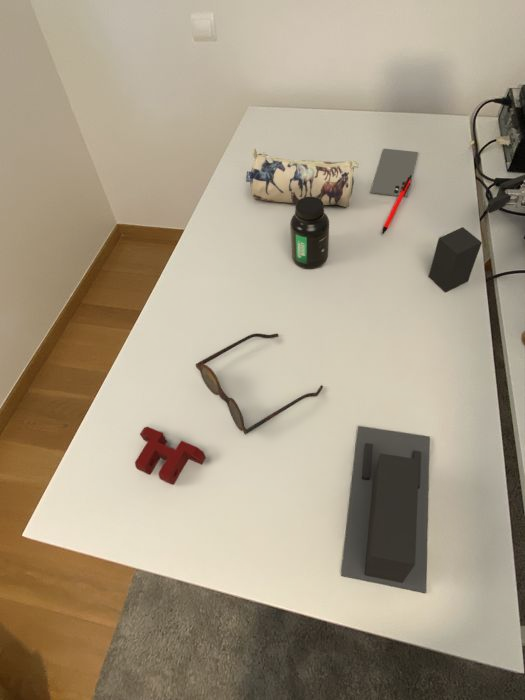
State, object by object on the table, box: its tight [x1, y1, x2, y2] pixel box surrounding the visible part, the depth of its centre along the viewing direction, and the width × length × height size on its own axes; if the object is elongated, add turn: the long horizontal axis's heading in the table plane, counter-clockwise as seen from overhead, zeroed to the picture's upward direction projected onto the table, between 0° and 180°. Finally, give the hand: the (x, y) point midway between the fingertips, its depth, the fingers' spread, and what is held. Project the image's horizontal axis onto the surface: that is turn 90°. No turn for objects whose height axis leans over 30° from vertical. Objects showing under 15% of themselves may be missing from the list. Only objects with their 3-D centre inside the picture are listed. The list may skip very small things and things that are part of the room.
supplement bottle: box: [289, 196, 330, 270], centre depth 89 cm, size 7×7×12 cm
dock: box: [340, 425, 431, 594], centre depth 62 cm, size 10×20×10 cm, turn 168°
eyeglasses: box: [195, 333, 324, 436], centre depth 76 cm, size 15×15×5 cm
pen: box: [381, 175, 413, 235], centre depth 100 cm, size 1×19×1 cm, turn 154°
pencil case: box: [245, 148, 359, 208], centre depth 101 cm, size 22×8×10 cm, turn 77°
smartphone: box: [370, 148, 419, 198], centre depth 107 cm, size 8×1×16 cm
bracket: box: [134, 426, 207, 486], centre depth 71 cm, size 3×6×10 cm
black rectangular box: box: [428, 226, 483, 293], centre depth 85 cm, size 4×5×9 cm
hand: (507, 221), depth 84 cm, fingers open, 8 cm apart
